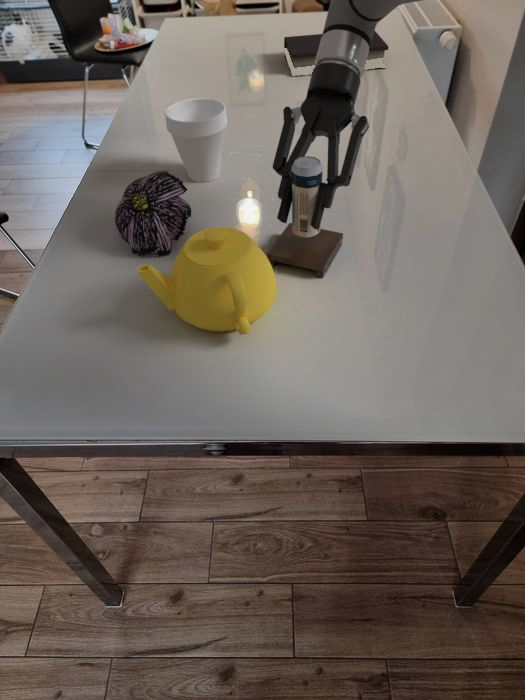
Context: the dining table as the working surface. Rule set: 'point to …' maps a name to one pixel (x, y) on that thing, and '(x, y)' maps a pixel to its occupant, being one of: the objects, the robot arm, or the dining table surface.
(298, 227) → the beer can
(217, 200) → the dining table surface
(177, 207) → the decorative flower
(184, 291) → the teapot
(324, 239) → the flat wooden board
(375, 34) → the book
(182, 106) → the cup
